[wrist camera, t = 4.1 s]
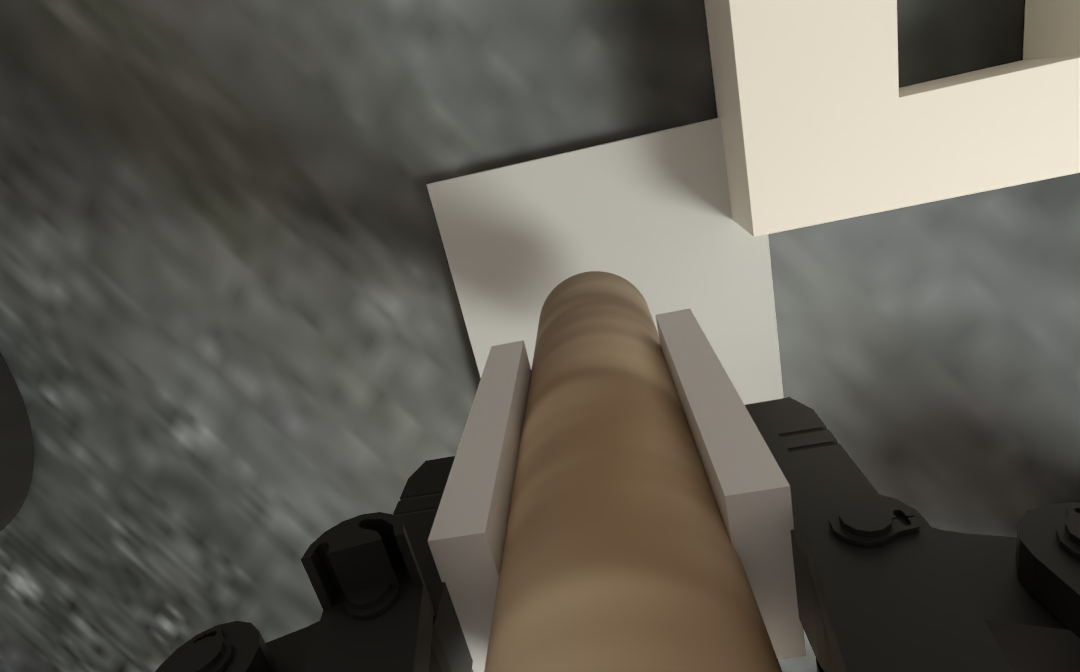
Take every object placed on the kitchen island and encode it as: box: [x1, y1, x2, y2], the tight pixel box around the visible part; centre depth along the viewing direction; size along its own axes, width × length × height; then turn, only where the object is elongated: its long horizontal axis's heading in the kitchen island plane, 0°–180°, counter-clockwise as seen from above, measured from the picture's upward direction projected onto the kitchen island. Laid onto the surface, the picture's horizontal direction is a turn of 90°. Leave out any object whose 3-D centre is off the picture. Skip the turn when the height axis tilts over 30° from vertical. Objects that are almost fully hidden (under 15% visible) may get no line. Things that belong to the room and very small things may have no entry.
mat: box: [427, 118, 784, 405], centre depth 20 cm, size 10×10×1 cm
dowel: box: [484, 271, 782, 672], centre depth 11 cm, size 3×3×14 cm
